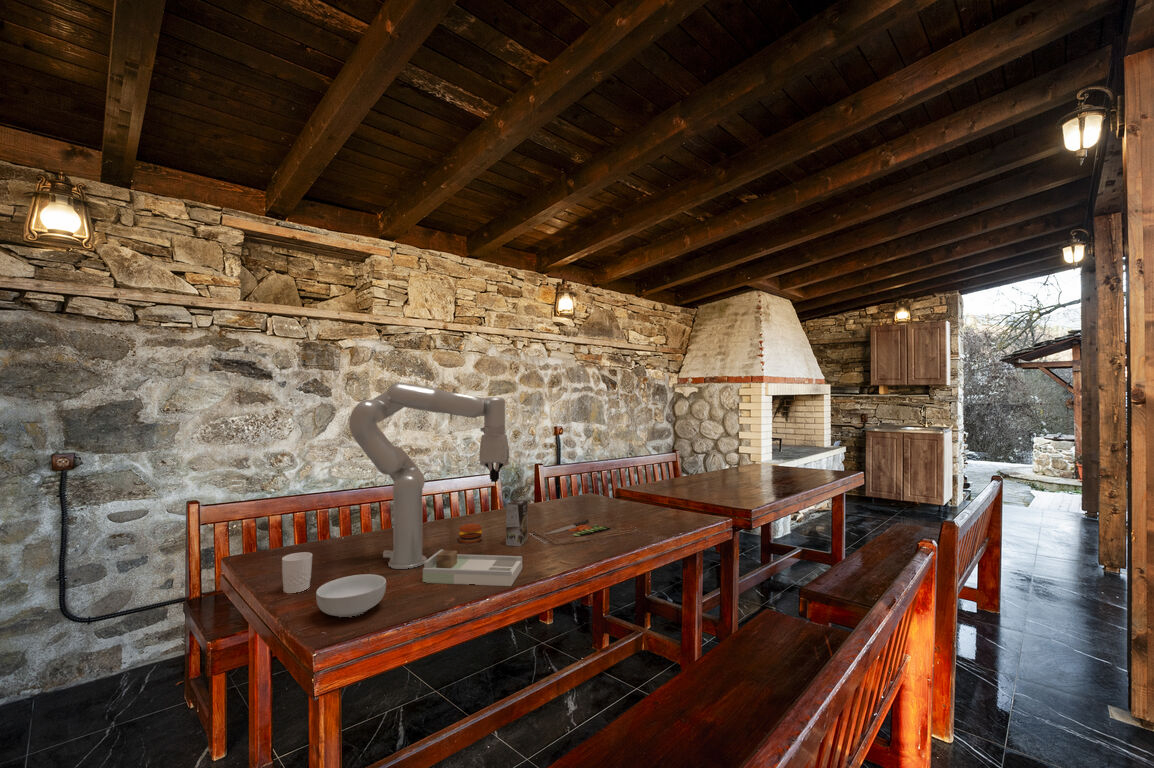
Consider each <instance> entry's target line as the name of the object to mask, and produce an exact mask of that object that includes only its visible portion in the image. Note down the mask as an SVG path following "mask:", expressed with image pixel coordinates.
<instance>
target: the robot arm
mask: <svg viewBox="0 0 1154 768" xmlns="http://www.w3.org/2000/svg"><path fill="white" fill-rule="evenodd" d="M404 408H406V409H412V410H413V409H414V410H418V411H419V410H420V411H425V412H430V413H435V414H437V413H438V414H439V413H441V414H447V415H455V416H460V417H465V418H470V419H475V418H478V417H484V418H483V420H484V421H483V427H480V432H482V433H483V434H482V435H481V437H480V443H479V444H480V445H479V455H478V459H479V464H480V466H484V467H485V468H486V469H487V470H488V471H489V479H490V482H491V483H493V482H494V483H497V482H498V481H499V480H500V470H501V469H502V468H503V467H505V466H509V465H510V460H509V459H510V449H509V440H508V435H507V434H506V399H505V398H503V397H498V396H497V397H493V396H491V397H486V398H485V397H478V396H473V395H469V394H462V393H458V392H457V393H456V392H451V391H448V390H447V391H446V390H442V389H440V388H435V387H430V386H424V385H419V384H413V383H407V382H400V381H398V382H394V383H392V384H391V385H389V387H388V389H387V390H386V391H384V392H383V393H381V394H379V395H378V396H376V397H374V398H373V399H372V398H371V399H364V400H361V401H360V402H358V403H357V404H356V405H355V406H354V407H353V409H352V412H351V413H350V416H349V419H348V420H349V423H348V424H349V430H350V434H351V436H352V437H353V439H354V440H355V443H356V444H357V445H358V446H359V447H360V448H361V449H362V450H361V451H363V452H364V453H365V455H366V457H367V458H368V459H369V460H370V461H371V463H372V464H373V465H374V466H375V469H376V470H377V471H378V472H380V473H381V474H382V475H387V476H389V477H390V478H391V480H392V481H393V485H392V502H393V503H392V504H393V518H392V519H393V541H392V543H393V544H392V547H393V548H392V550H389V549H387V550H386V549H384V550H383V553H382V558H385V559H386V558H387V559H388V558H389V561H388V562H387V563H388V564H387V565H388V567H389V568H390V567H391V569H394V570H408V568H409V569H414V567H415V568H418V566H419V567H421V566H424V562H425V561H426V560H427V559H428V558H427V556H425V555H423V488H424V487H425V483H426V482H425V481H426V480H425V476H424V474H423V472H422V471H421V470H420V468H419V467H418V466H417V464H416V463H415V462H414V460H413V459H412V458H411V457H410V456H409V454H408V453H407V452H406V451H405V450H404V449H403V448H401V447H400V446H397V445H393V444H392V443H391V441H390V440H389V439H388V438H387V436H386V435H385V433H384V432H383V431H382V430H381V429H380V428H379V426H378V423H380V422H382V421H384V420H386V419H387V418H389V417H390V416H393V415H394V414H396V413H398V412H399V411H401V410H402V409H404ZM494 464H495V465H494Z"/></svg>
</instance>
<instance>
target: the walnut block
mask: <svg viewBox="0 0 1154 768" xmlns="http://www.w3.org/2000/svg"><path fill="white" fill-rule="evenodd" d="M457 554H458V551H457V550H447V549H445V550H442V551H441V552H440V553H438V554H437V555H436V568H452V567H453V566H454V565H456V564H457Z"/></svg>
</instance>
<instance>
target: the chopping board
mask: <svg viewBox="0 0 1154 768" xmlns="http://www.w3.org/2000/svg"><path fill="white" fill-rule="evenodd" d="M603 519H604V518H599V519H598V518H597V519H591V520H590V519H584V520H581V521H576V522H570V523H562V524H555V525H548V526H541V527H535V528H532V529H531V532H533V533H531V532H528V535H529V534H530V535H529V536H531V535H532V536H533V537H532V536H531V537H532V538H534V537H535V538H534V539H535V540H537V539H538V540H537V541H539V540H540V541H539V542H541V543H542V542H543V543H542V544H544V545H547V543H546V542H550V543H549V544H551V543H552V544H551V545H553V544H554V546H557V545H563V546H568V545H567V544H570V545H575V544H574V543H576V544H580V543H579V542H582V543H586V542H585V541H588V542H591V541H590V540H594V541H596V540H595V539H599V538H603V537H609V536H614V535H620V534H625V533H632V532H636V531H638V528H637V529H634V531H631V532H625V530H624V531H622V530H621V531H619V532H625V533H619V534H613V533H618V532H617V529H618V528H617V529H615V528H616V527H614V529H613V524H614V523H613V524H611V523H609V524H610V525H609V524H606V526H607V527H606V526H605V523H606V521H607V520H605V522H603ZM597 520H601V521H597ZM591 521H594V522H591ZM609 522H610V521H609ZM626 526H627V525H626ZM609 527H611V528H609ZM631 528H632V527H631ZM611 529H612V530H611ZM620 529H622V528H620ZM623 529H624V528H623ZM536 530H538V532H537V531H536ZM626 531H630V530H626ZM539 532H540V533H539ZM533 534H535V535H533ZM536 534H537V535H539V536H540V537H539V536H537V535H536ZM608 534H612V535H608ZM544 535H545V536H544ZM603 535H606V536H603ZM546 536H547V537H546ZM599 536H600V537H599ZM541 537H542V538H541ZM543 538H544V539H545V540H544V539H543ZM551 539H552V540H551ZM546 540H547V541H546Z"/></svg>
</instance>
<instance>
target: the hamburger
mask: <svg viewBox="0 0 1154 768" xmlns="http://www.w3.org/2000/svg"><path fill="white" fill-rule="evenodd" d="M482 530H483V527H482V526H481V525H480V524H478V523H474V522H471V523H465V524H463V525H461V526H459V527H458V537H459V538H458V542H459V543H462V542H463V543H462V544H475V543H474V542H476V543H478V541H479V542H481V541H482V538H483V537H482V534H483V531H482ZM480 540H481V541H480Z"/></svg>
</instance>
